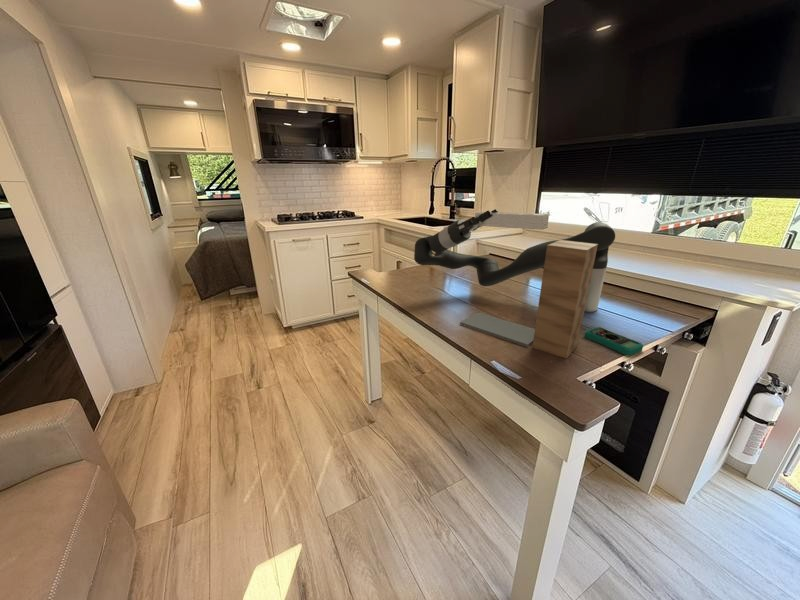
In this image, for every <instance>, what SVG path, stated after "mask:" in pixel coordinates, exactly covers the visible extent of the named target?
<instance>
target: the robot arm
mask: <svg viewBox="0 0 800 600" xmlns="http://www.w3.org/2000/svg"><path fill="white" fill-rule="evenodd" d="M483 212H484V213H483V214H481V215H480V216H479V215H477V216H476V217H475V216H471V218H468V219H467V220H463V219H457V220H456V221H454V222H453V223H451V224H448V225H447V226H446V227H444V228H443V229H442V230H440V231H439V232H437V233H435V234H433V235H430V236H425V237H420V238H418V239H417V240H416V242H415V243H414V253H413V259H414V260H413V261H414V262H415V263H416V264H418V265H419V266H439V267H443V268H446V269H451V270H457V269H462V268H465V267H472V268H474V269H476V276H477V281H478V283H479V285H480V286H483V287H491V286H495V285H497V284H501V283H502V282H505V281H507V280H511V279H512V278H514V277H518V276H520V275H523V274H526V273H528V272H532V271H536V270H539V269H542V268H543V269H544V264H545V257H546V251H547V245H549V244H551V243H554V242H556V241H559V240H565V241H574V242H583V243H592V244H598V246H597V251H596V256H595V261H594V266H593V271H592V276H591V281H590V286H589V291H588V296H587V301H586V305H585V310H584V312H587V313H593V312H596V311H598V307H599V304H600V299H601V295H602V291H603V286H604V280H605V276H606V271H607V266H608V263H609V261H608V260H609V257H608V256H609V255H608V254H609V250H610V249H609V248H610V246H611V245H612V244H613V243H614V242H615V239H616V233H615V231H614V229H613V228H612V227H611V226H610V225H609V224H607V223H605V222H603V221H602V222H601V221H600V222H599V221H598V222H593V223H591V224H589V225H588V226H587V227H586V228H585V230H584V231H583V232H581V233H578V234H575V235H573V236H571V237H567V238H561V239H556V240H554V239H553V240H549V241H545V242H542V243H539V244H535V245H533V246H530V247H528V248H526V249H525V250H523V251H522V252H521V253H520V254H519V255H518V256H517V257H516V258H515V259H514V261H512V262H511V263H509V264H508V265H506V266H504V267H502V268H500V267H499V264H498V263H499V262H498V261H497V260H496V259H494V258H492V257H487V256H480V255H479V256H478V255H473V254H472V255H471V254H464V253H460V252H456V251H454V250H449V249H451V248H453V247H456V246H458V245H460V244H462V243H463V242H466V241H467V240H469V239H470V238H471V235H472V234H471V233H472V232H475V231H477V230H478V229H480V228H483V226H478V224H480V223H481V222H483V221H485V220H487V219H488V218H490V217H492V213H491V212H499V210H498V209H497V208H495V209H493V210H486V211H483ZM433 253H434V255H433Z"/></svg>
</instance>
